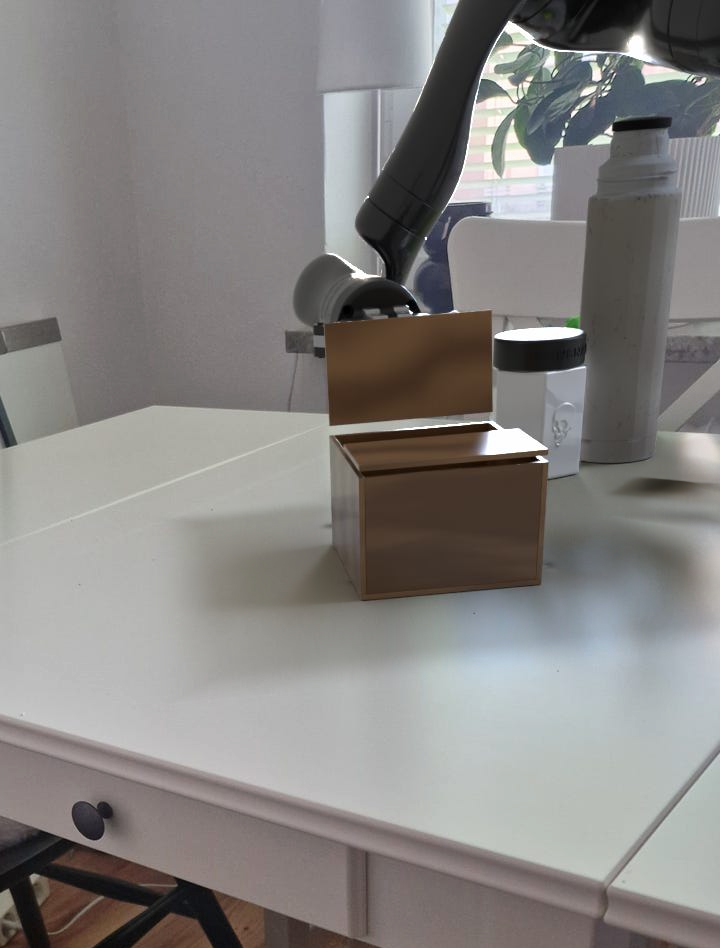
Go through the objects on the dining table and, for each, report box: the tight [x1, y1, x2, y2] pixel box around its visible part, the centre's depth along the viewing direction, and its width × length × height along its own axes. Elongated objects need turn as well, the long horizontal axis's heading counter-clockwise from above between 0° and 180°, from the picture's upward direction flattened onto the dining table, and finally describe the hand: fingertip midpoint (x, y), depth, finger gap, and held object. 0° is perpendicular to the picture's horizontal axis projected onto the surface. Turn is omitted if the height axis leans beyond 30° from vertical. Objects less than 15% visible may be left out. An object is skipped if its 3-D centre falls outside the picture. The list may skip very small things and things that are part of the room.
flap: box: [324, 309, 493, 427], centre depth 89 cm, size 7×13×1 cm
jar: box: [489, 327, 587, 481], centre depth 107 cm, size 9×8×12 cm
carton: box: [328, 420, 549, 601], centre depth 86 cm, size 15×13×9 cm
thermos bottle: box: [579, 115, 683, 464], centre depth 107 cm, size 8×8×28 cm
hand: (407, 347), depth 88 cm, fingers closed
